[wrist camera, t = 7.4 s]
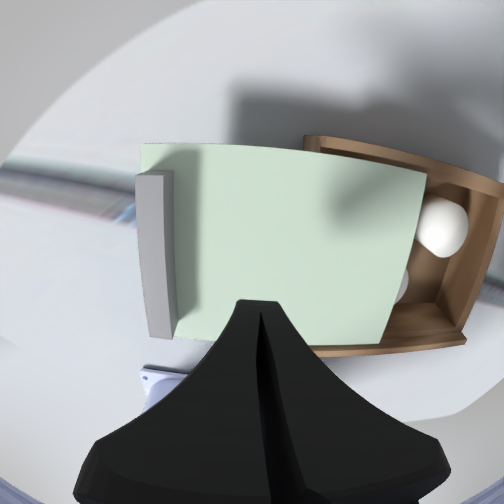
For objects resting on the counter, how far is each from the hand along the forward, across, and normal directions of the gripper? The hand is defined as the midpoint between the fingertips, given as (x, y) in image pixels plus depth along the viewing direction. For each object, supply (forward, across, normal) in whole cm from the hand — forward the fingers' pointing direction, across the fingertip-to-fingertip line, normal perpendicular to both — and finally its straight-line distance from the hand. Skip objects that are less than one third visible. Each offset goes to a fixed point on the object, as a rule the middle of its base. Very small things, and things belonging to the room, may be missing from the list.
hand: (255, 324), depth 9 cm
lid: (+5, -1, 0) cm, 5 cm away
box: (+10, -10, 0) cm, 14 cm away
